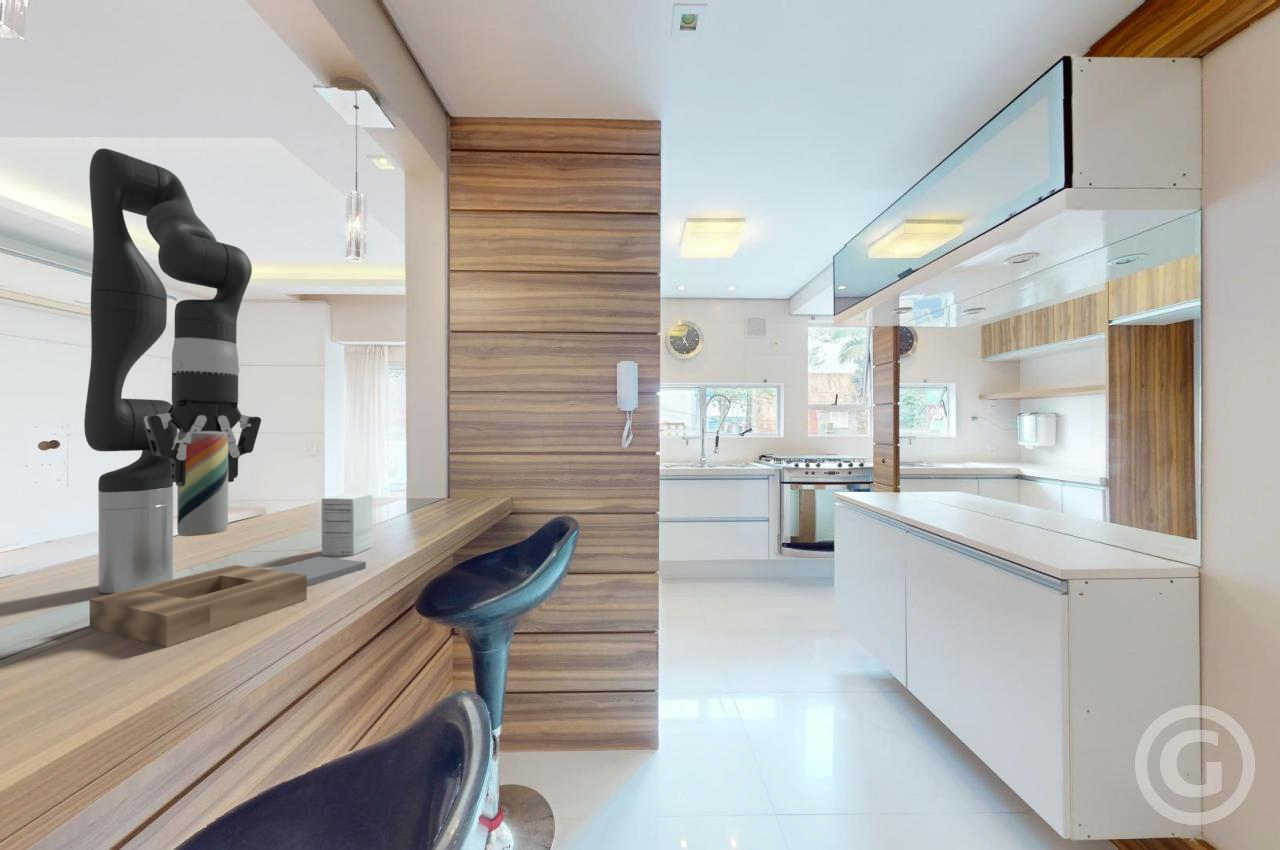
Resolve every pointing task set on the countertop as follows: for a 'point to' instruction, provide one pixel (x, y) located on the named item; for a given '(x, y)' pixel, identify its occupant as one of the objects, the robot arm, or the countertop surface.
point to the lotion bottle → (204, 478)
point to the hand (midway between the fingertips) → (205, 483)
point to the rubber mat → (322, 568)
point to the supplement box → (346, 524)
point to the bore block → (195, 603)
